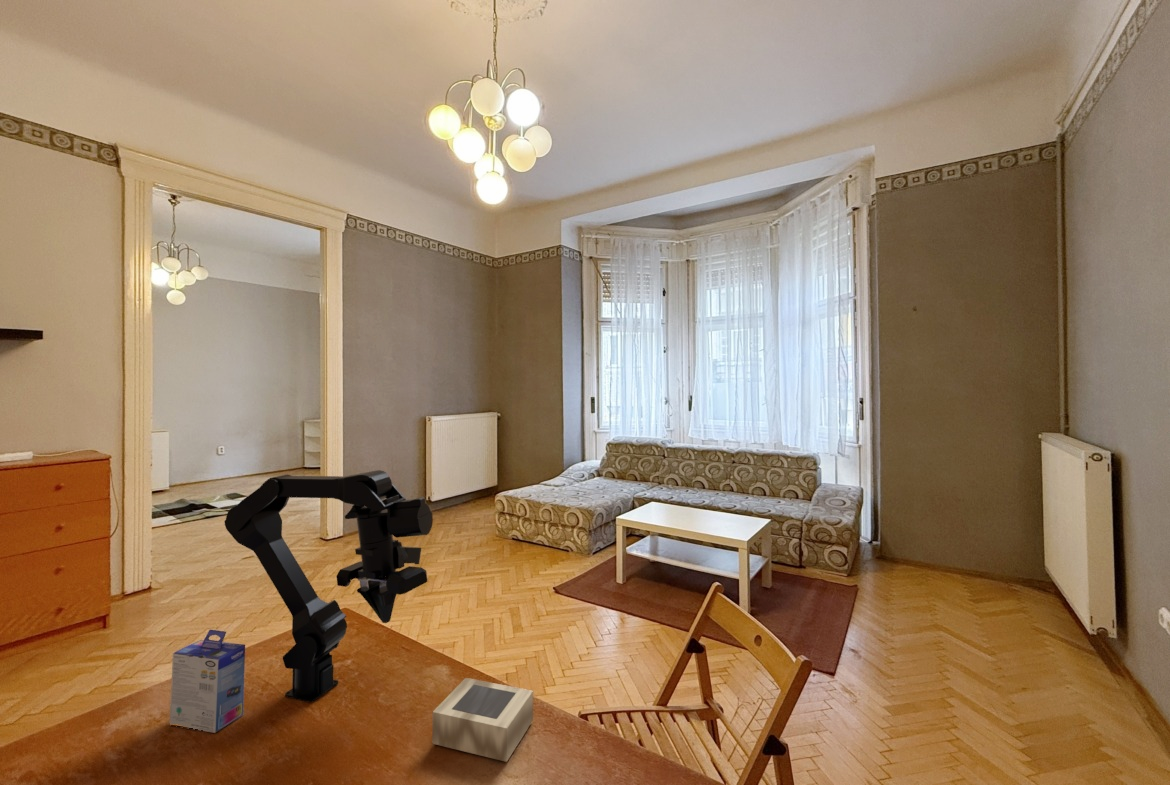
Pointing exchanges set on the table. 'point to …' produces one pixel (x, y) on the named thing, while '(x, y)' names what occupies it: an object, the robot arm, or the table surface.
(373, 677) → the table surface
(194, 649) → the ink cartridge box
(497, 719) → the birch block
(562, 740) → the table surface
